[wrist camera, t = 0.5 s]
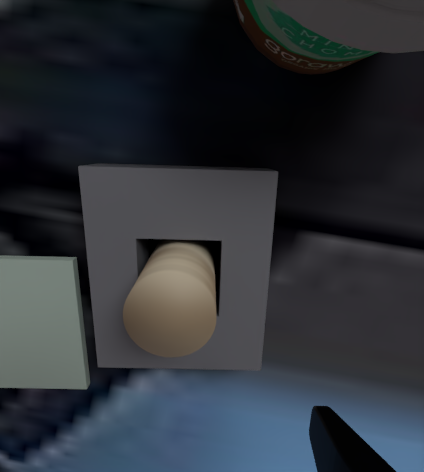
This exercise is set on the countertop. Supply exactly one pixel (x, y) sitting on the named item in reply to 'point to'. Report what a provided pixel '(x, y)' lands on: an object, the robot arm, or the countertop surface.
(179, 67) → the countertop surface
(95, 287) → the grey square frame
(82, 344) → the mat
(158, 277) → the plug
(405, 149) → the countertop surface
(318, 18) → the food container
